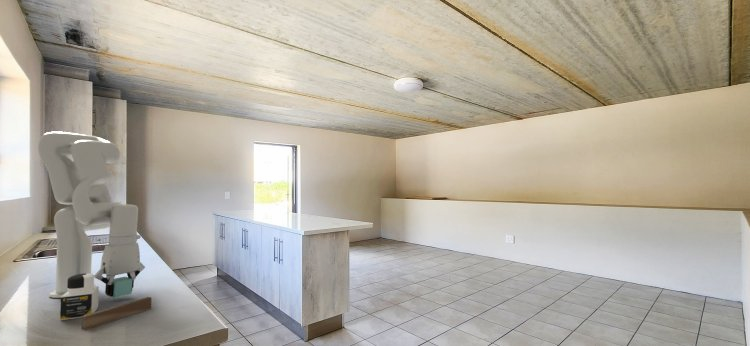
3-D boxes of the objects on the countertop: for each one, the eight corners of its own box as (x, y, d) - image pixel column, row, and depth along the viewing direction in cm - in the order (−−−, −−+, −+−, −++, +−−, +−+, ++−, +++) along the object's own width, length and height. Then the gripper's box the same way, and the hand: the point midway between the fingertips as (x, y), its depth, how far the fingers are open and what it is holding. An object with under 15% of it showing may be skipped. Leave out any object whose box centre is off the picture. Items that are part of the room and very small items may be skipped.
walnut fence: (81, 328, 89) (81, 315, 89) (147, 307, 104) (148, 296, 104) (84, 329, 88) (84, 317, 88) (151, 308, 103) (151, 297, 103)
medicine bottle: (59, 321, 94) (61, 279, 94) (68, 312, 100) (70, 273, 101) (91, 316, 97) (92, 276, 98) (98, 308, 103) (99, 270, 104)
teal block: (107, 294, 110) (108, 280, 110) (123, 290, 114) (124, 276, 114) (114, 297, 107) (115, 282, 108) (131, 293, 112) (132, 279, 112)
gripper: (143, 235, 120) (140, 284, 120) (86, 242, 105) (83, 298, 105) (155, 238, 117) (152, 288, 117) (98, 245, 102) (94, 303, 102)
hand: (119, 292), depth 111 cm, fingers closed on teal block, 5 cm apart
